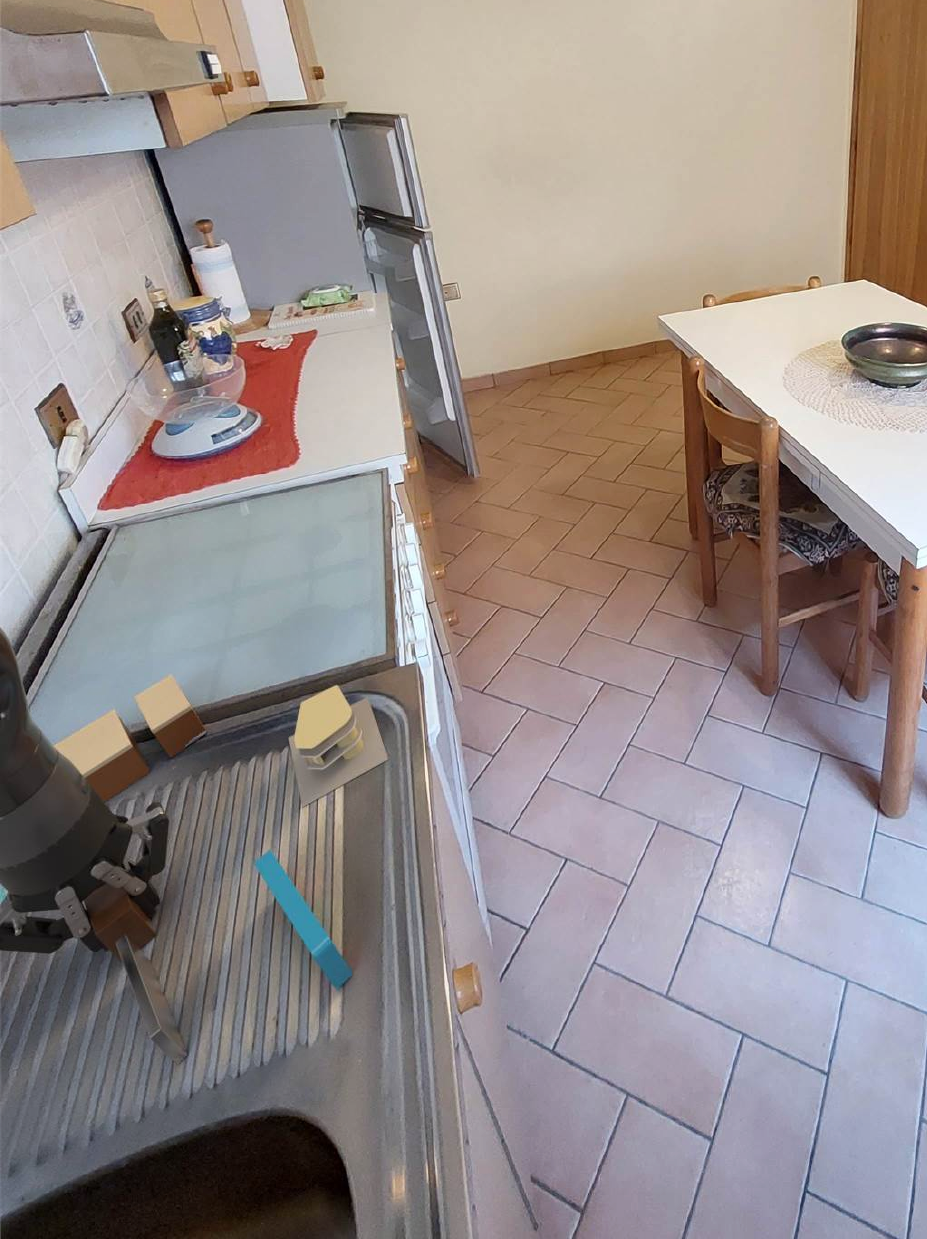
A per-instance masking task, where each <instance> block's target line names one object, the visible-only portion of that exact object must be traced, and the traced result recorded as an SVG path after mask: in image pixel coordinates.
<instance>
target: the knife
mask: <svg viewBox="0 0 927 1239" xmlns="http://www.w3.org/2000/svg"><path fill="white" fill-rule="evenodd" d="M83 904H84V907H85V909H86V910H87V912H88V915H89V918H90V921H91V924H92V927H93V930H94V932H95V935H96V936H97V937H98V938H99V939H100V940H101V942H102V943H103V944H104V945H105V946H106V947H107V948H108V949H109V950H108V951H110V952H111V953H112V955H113V956H115V957H116V959H117V960H118V961H119V962H121V964H122V966H123V967H124V970H125V973H126V977H127V979H128V982H129V985H130V988H131V989H132V993H133V995H134V999H135V1001H136V1004H137V1007H138V1009H139V1013H140V1015H141V1018H142V1020H143V1023H144V1026H145V1029H146V1032H147V1034H148V1037H149V1039H150V1040H151V1041H152V1042H153V1043H154V1044H155V1045H156V1046H157V1047H158V1048H159V1049H160V1050H161V1051H162V1052H163V1053H164V1054H165V1055H166V1056H167V1057H168V1058H169V1059H170V1060H171V1061H172V1062H173V1063H174V1064H176V1065H179V1064H180V1063H181V1062H183V1061H184V1060H185V1058H187V1057H188V1053H187V1050H186V1048H185V1045H184V1042H183V1039H182V1037H181V1034H180V1032H179V1029H178V1027H177V1025H176V1024H177V1023H176V1022H175V1019H174V1017H173V1014H172V1012H171V1010H170V1006H169V1004H168V1002H167V999H166V996H165V993H164V991H163V989H162V986H161V984H160V981H159V979H158V976H157V974H156V971H155V969H154V966H153V963H152V961H151V960H150V959H149V958H148V957H147V956H146V955H145V954H144V953H143V952H142V951H141V949H142V948H143V947H144V946H146V944H148V943H149V942H151V941H152V940H153V939H154V938H155V937H157V933H156V930H155V928H154V925H153V923H152V920H151V918H148V917H147V916H146V914H145V913H144V912H143V911H142V910H141V909H140V907H139V906H138V905H137V904H136V903H135V902H134V900H133V899H132V897H131V895H130V894H129V893H127V892H125V891H124V890H122V889H120V890H117V889H116V888H114V887H112V886H111V885H109V884H108V883H107V884H106V885H104V886H102V887H100V888H98V889H96V890H95V891H93V892H92V893H91V894H90V895H89V896H88V897H87V898H86V899H85V900H84V901H83Z"/></svg>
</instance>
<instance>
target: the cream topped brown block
mask: <svg viewBox="0 0 927 1239" xmlns="http://www.w3.org/2000/svg"><path fill="white" fill-rule="evenodd" d="M133 699H134V701H135V703H136V704H137V707H138V708H139V710H140V712H141V715H142V716H143V718H144V720H145V721H146V723H147V725H148V727H149V730H150V731H151V733H152V734H153V735H154V737H155V738H156V739H157V741H158V743H159V744H160V746H161V747H162V748H163V749H164V752H165V753H166V754H167V756H168V757H169V758H170V759H172V758H173V757H174V756H176V755H178V754H179V753H181V752H182V751H184V750H185V749H186V748H185V745H186V744H188V743H189V741H190V740H192V739H193V738H194V737H196V736H198V735H199V734H200V733H202V732H203V731H205V730H206V731H207V729H206V728H205V725H204V724H203V723H202V721H201V720H200V718H199V716H198V714H197V712H196V711H195V709H194V708H193V706H192V705H191V703H190V701H189V700H188V698H187V697H186V695H185V694H184V692H183V691H182V689H181V687H180V685H179V684H178V683H177V681H176V679H175V678H174V676H173V675H172V674H169V675H168V676H166V677H164V678H162V679H161V680H160V681H157V682H156V683H155V684H153V685H151V686H150V687H148V688H145V690H143V691H141V692H140V693H138V694H137V695H134V696H133ZM196 714H197V715H196Z"/></svg>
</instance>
